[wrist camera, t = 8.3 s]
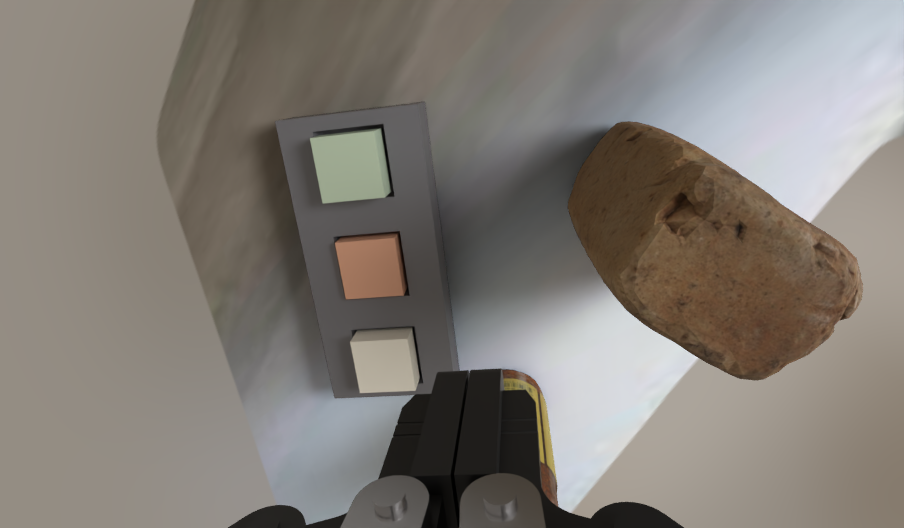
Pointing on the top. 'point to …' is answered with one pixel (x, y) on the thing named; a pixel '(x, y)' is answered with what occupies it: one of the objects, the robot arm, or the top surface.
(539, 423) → the sauce bottle
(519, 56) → the top surface
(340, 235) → the button panel
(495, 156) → the top surface
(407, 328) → the cream button
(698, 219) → the brown sandstone rock
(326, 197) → the sage button
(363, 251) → the terracotta button
